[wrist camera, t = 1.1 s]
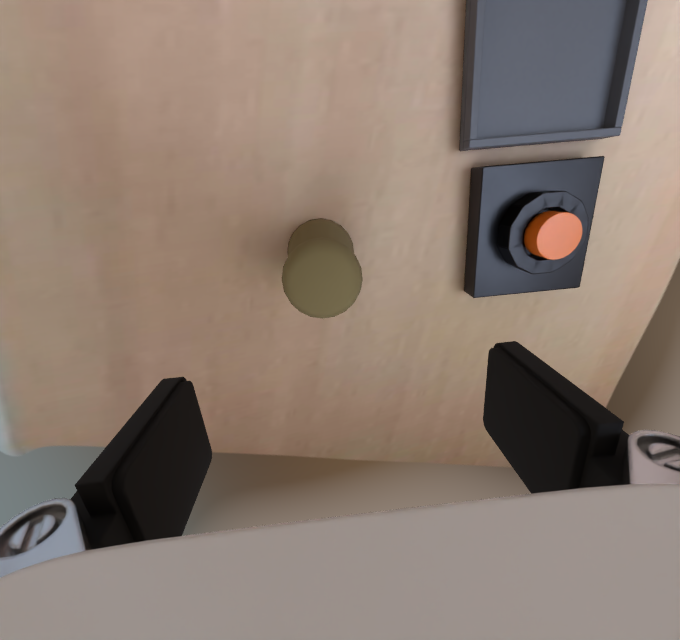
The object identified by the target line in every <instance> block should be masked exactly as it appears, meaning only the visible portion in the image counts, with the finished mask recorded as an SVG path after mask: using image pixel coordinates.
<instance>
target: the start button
mask: <svg viewBox="0 0 680 640" xmlns="http://www.w3.org/2000/svg"><path fill="white" fill-rule="evenodd" d="M581 237H582V224H581V221H580V220H579V218H578V217H577V216H576V215H574V214H572V213H568V212H559V211H546V212H543V213H540V214H539V215H537V216H536V217H534V218H533V219H532V220H531V221H530V223H529V224H528V226H527V228H526V230H525V234H524V243H525V246H526V248H527V250H528V251H529V252H530V253H532V254H534V255H537V256H540V257H543V258H546V259H550V260H557V259H561V258H564V257H566V256H567V255H569V254H570V253H571V252H573V250H574V249H575V248H576V247H577V246H578V244H579V242H580V240H581Z"/></svg>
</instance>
